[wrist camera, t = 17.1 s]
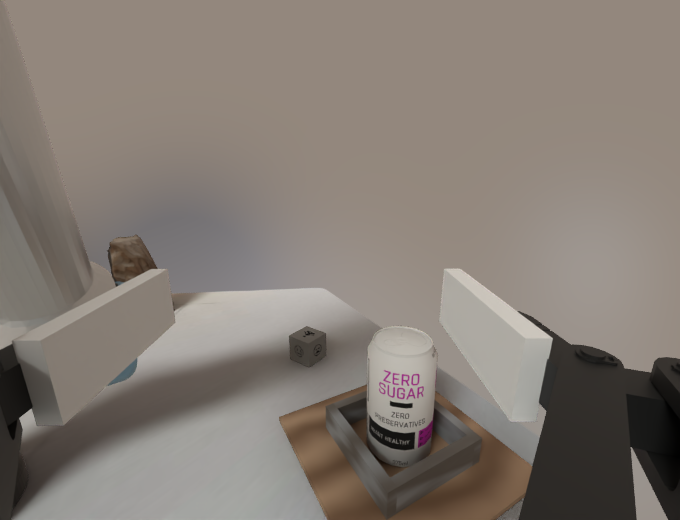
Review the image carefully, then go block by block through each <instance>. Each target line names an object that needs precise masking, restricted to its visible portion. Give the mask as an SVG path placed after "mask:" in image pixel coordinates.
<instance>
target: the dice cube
mask: <svg viewBox="0 0 680 520" xmlns="http://www.w3.org/2000/svg"><path fill="white" fill-rule="evenodd" d="M289 344H290V359H292V360H294V361H296V362H298V363H301V364H303V365H305V366H307V367H311V366H312V365H314V364H315V363H316V362H318V361H319V360H321V359H322V358H324V357H325V356H326V333H324V332H321V331H319V330H316V329H313V328H310V327H308V326H306V327H304V328H303V329H301V330H299V331H297V332H295V333H293V334H291V335H290V336H289Z"/></svg>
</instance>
